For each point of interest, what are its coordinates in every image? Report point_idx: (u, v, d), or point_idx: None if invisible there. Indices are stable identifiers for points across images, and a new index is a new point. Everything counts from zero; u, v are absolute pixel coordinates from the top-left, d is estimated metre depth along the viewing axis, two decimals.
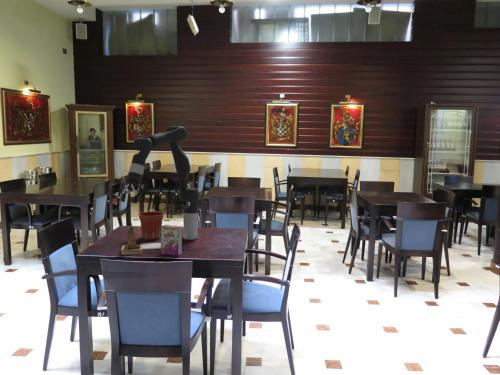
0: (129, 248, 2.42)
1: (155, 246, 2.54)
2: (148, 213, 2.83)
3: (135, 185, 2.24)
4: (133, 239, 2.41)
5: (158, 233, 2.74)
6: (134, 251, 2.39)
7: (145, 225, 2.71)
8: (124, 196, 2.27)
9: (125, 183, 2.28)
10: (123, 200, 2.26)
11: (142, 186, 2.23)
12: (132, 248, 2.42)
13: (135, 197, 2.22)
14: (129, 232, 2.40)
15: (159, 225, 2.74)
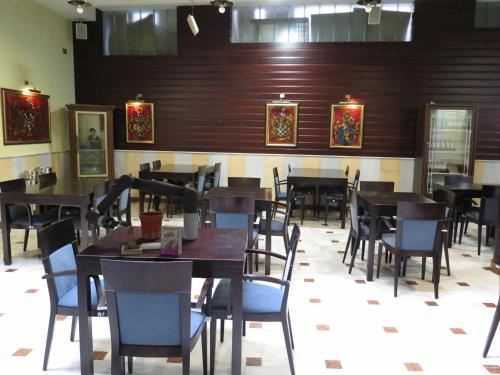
0: (129, 248, 2.42)
1: (155, 246, 2.54)
2: (148, 213, 2.83)
3: None
4: (133, 239, 2.41)
5: (158, 233, 2.74)
6: (134, 251, 2.39)
7: (145, 225, 2.71)
8: (123, 224, 2.54)
9: (119, 223, 2.60)
10: (125, 225, 2.53)
11: (101, 225, 2.51)
12: (132, 248, 2.42)
13: (111, 228, 2.48)
14: (129, 232, 2.40)
15: (159, 225, 2.74)
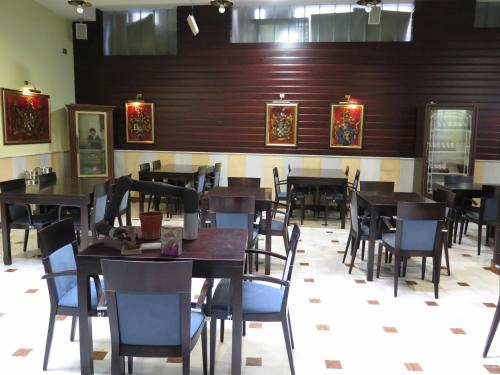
0: (129, 248, 2.42)
1: (155, 246, 2.54)
2: (148, 213, 2.83)
3: None
4: (133, 239, 2.41)
5: (158, 233, 2.74)
6: (134, 251, 2.39)
7: (145, 225, 2.71)
8: None
9: None
10: (137, 238, 2.43)
11: (115, 238, 2.42)
12: (132, 248, 2.42)
13: None
14: (129, 232, 2.40)
15: (159, 225, 2.74)
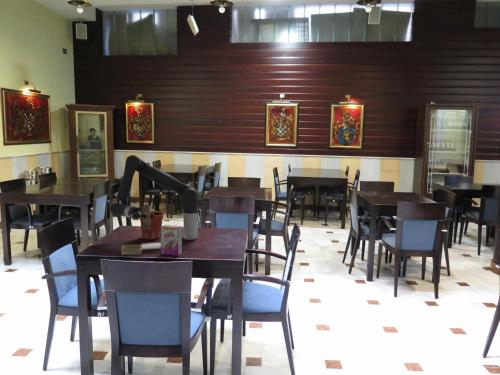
0: (144, 225, 2.49)
1: (155, 246, 2.54)
2: None
3: (136, 216, 2.53)
4: (148, 216, 2.49)
5: (158, 233, 2.74)
6: (134, 251, 2.39)
7: None
8: None
9: None
10: (152, 215, 2.51)
11: (131, 215, 2.49)
12: (147, 225, 2.49)
13: (142, 217, 2.48)
14: (144, 209, 2.48)
15: (159, 225, 2.74)
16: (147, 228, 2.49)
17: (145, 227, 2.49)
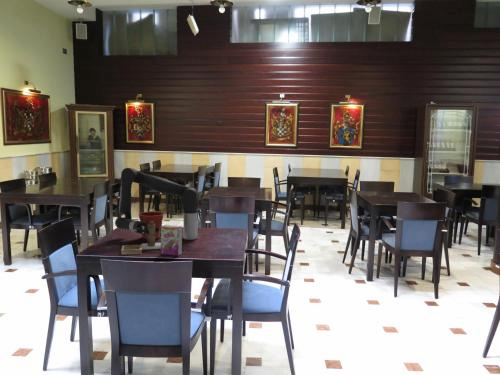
0: (149, 242, 2.54)
1: (155, 246, 2.54)
2: (148, 213, 2.83)
3: None
4: (153, 233, 2.53)
5: (158, 233, 2.74)
6: (134, 251, 2.39)
7: None
8: (155, 229, 2.58)
9: None
10: (157, 229, 2.56)
11: (135, 230, 2.54)
12: (152, 242, 2.54)
13: (145, 232, 2.52)
14: (149, 227, 2.52)
15: (159, 225, 2.74)
16: (151, 245, 2.54)
17: (149, 244, 2.54)
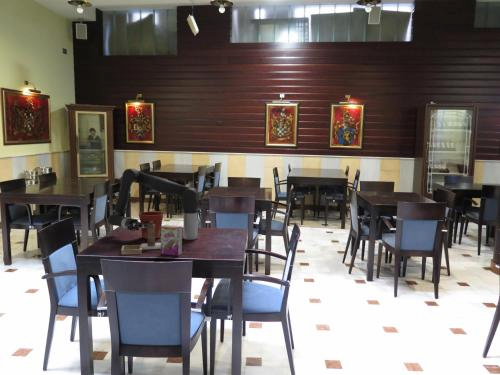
0: (149, 242, 2.54)
1: (155, 246, 2.54)
2: (148, 213, 2.83)
3: None
4: (152, 233, 2.53)
5: (158, 233, 2.74)
6: (134, 251, 2.39)
7: None
8: None
9: (142, 224, 2.70)
10: None
11: (126, 227, 2.60)
12: (152, 242, 2.54)
13: None
14: (149, 227, 2.52)
15: (159, 225, 2.74)
16: (151, 245, 2.54)
17: (149, 244, 2.54)
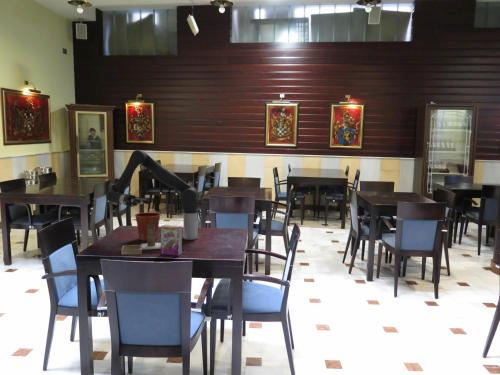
0: (149, 242, 2.54)
1: (155, 246, 2.54)
2: (145, 214, 2.80)
3: None
4: (152, 233, 2.53)
5: (155, 234, 2.71)
6: (134, 251, 2.39)
7: (141, 226, 2.68)
8: (145, 201, 2.62)
9: None
10: (147, 202, 2.61)
11: (124, 202, 2.59)
12: (152, 242, 2.54)
13: (133, 204, 2.56)
14: (149, 227, 2.52)
15: (155, 226, 2.71)
16: (151, 245, 2.54)
17: (149, 244, 2.54)
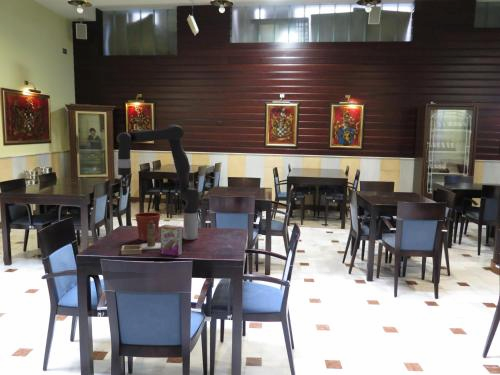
0: (149, 242, 2.54)
1: (155, 246, 2.54)
2: (145, 214, 2.80)
3: (122, 179, 2.46)
4: (152, 233, 2.53)
5: (155, 234, 2.71)
6: (134, 251, 2.39)
7: (141, 226, 2.68)
8: None
9: None
10: None
11: (123, 179, 2.42)
12: (152, 242, 2.54)
13: (122, 190, 2.45)
14: (149, 227, 2.52)
15: (156, 226, 2.71)
16: (151, 245, 2.54)
17: (149, 244, 2.54)
